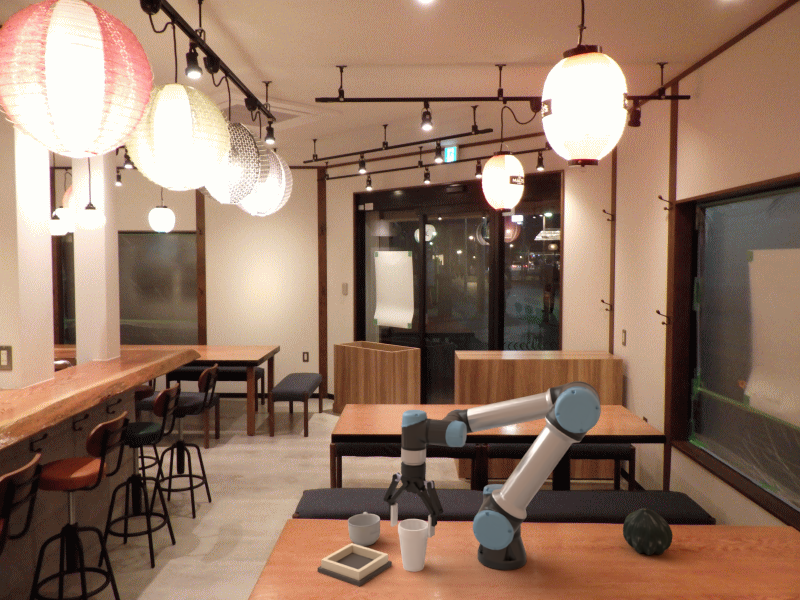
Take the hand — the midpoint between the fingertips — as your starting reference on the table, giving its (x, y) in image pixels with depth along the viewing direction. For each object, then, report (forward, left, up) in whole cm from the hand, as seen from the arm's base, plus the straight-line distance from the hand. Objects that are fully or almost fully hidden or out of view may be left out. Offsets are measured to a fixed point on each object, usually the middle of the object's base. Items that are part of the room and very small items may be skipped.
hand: (412, 530), depth 190 cm
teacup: (+24, -7, -11) cm, 27 cm away
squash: (-56, -53, -11) cm, 78 cm away
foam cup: (0, 0, -11) cm, 11 cm away
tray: (+14, +11, -11) cm, 21 cm away
